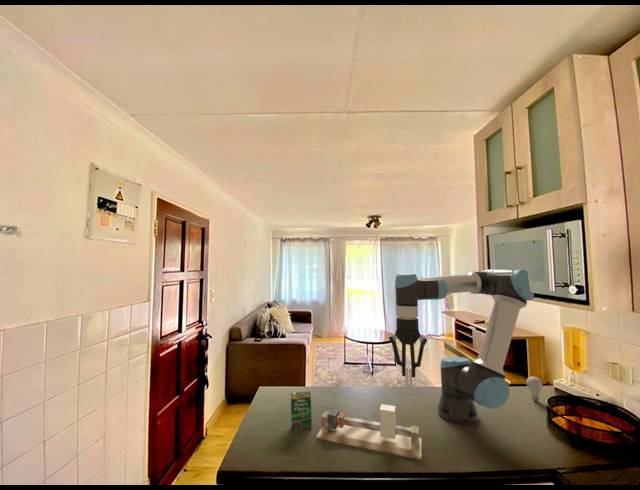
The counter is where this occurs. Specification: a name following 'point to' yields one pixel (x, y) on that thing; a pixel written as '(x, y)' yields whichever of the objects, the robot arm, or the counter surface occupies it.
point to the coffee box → (301, 410)
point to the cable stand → (369, 435)
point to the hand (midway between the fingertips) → (409, 386)
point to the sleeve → (387, 421)
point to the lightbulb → (534, 387)
